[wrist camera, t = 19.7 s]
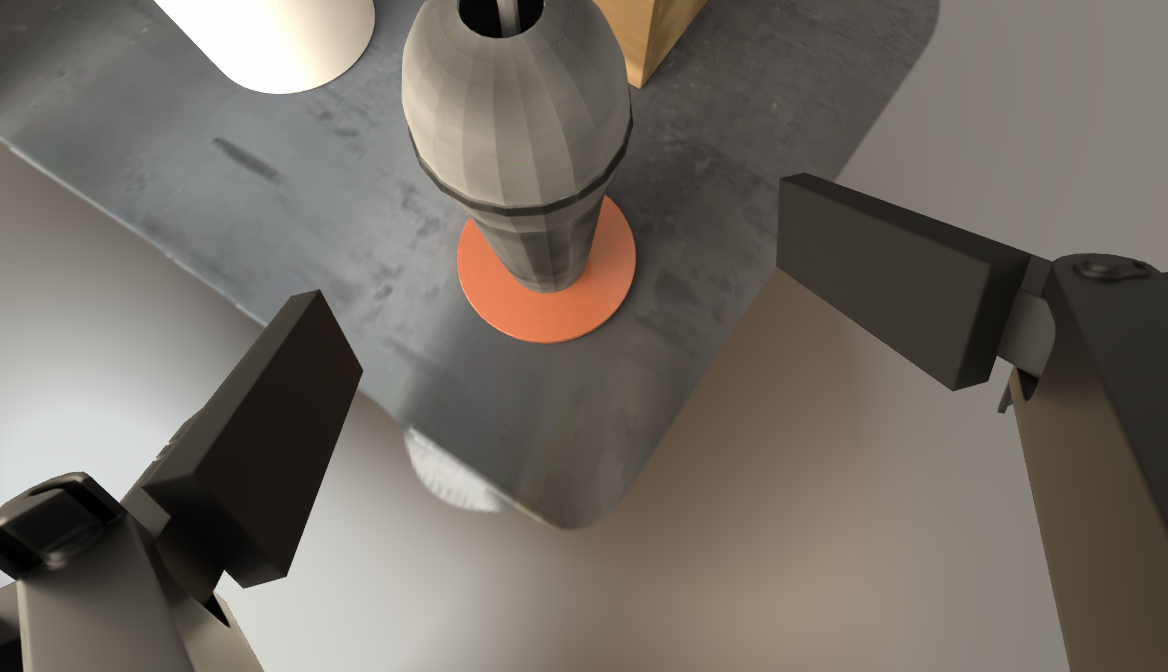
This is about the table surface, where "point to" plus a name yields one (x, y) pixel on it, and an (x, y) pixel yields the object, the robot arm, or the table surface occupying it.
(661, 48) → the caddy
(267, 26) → the tall pillar cylinder
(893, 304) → the robot arm
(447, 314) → the table surface
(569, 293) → the coaster
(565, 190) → the beverage cup
